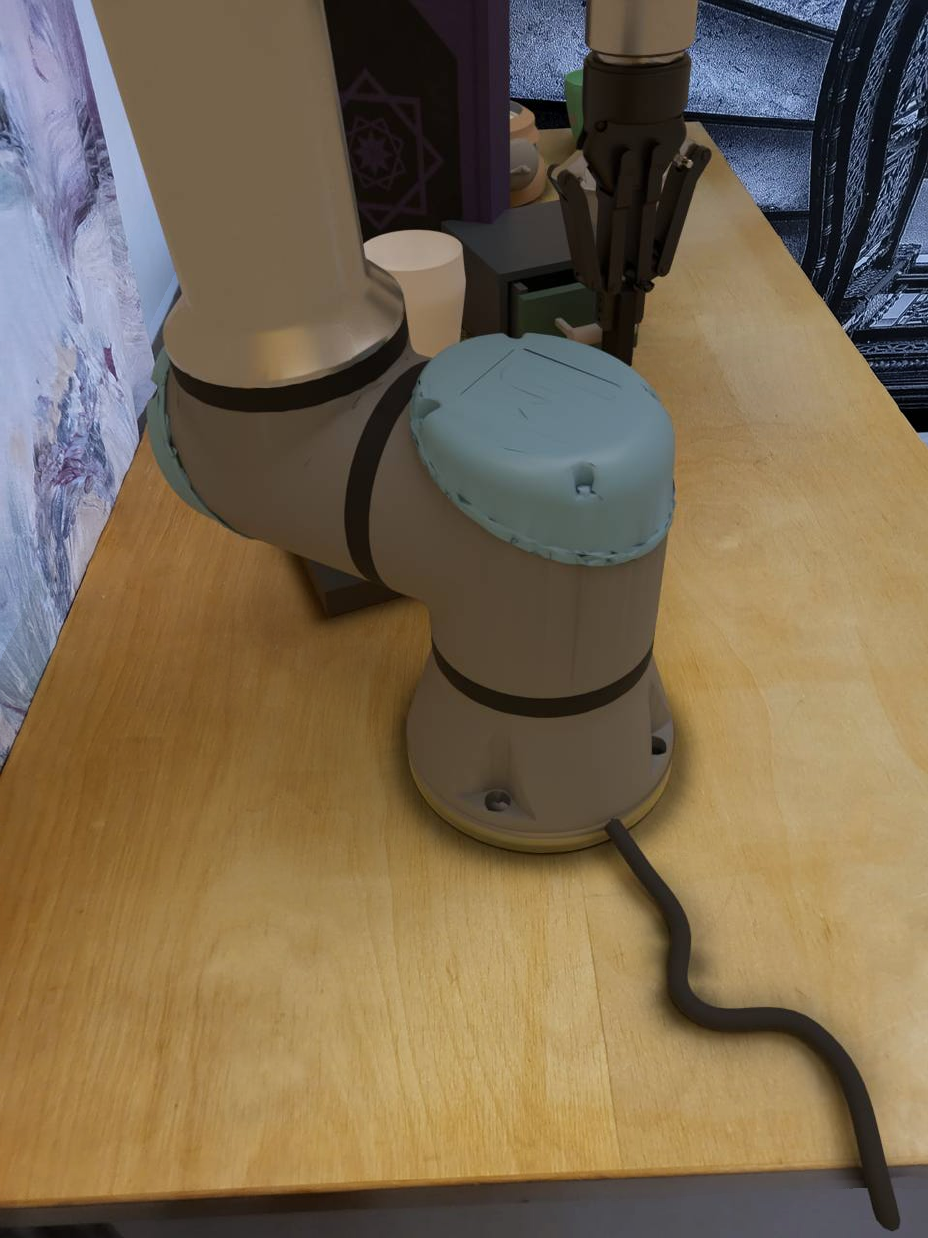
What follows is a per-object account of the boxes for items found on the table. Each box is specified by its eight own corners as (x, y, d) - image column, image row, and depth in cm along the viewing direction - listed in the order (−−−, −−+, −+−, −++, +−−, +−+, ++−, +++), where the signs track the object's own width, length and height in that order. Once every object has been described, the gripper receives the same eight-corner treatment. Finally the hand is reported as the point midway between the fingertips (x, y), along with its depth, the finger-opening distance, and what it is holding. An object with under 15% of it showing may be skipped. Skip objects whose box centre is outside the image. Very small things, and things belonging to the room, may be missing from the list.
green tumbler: (641, 168, 132) (647, 84, 125) (566, 172, 132) (569, 88, 125) (621, 134, 143) (626, 55, 136) (552, 138, 143) (554, 59, 136)
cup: (457, 408, 88) (452, 274, 80) (358, 400, 89) (342, 268, 81) (477, 359, 94) (474, 231, 86) (384, 353, 96) (372, 226, 88)
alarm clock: (549, 89, 128) (542, 147, 111) (547, 165, 134) (541, 231, 117) (416, 91, 130) (389, 148, 112) (420, 166, 136) (396, 231, 119)
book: (512, 292, 106) (511, -45, 86) (491, 317, 102) (485, -32, 82) (313, 266, 113) (270, -52, 93) (286, 289, 109) (235, -40, 89)
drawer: (661, 367, 90) (669, 293, 85) (544, 395, 87) (545, 320, 82) (574, 295, 102) (577, 226, 97) (469, 317, 99) (466, 248, 94)
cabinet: (621, 338, 96) (628, 247, 91) (499, 366, 93) (498, 273, 87) (557, 284, 106) (560, 198, 100) (444, 308, 103) (440, 221, 97)
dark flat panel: (465, 577, 70) (463, 531, 68) (328, 617, 68) (321, 571, 65) (407, 489, 79) (403, 445, 76) (283, 521, 76) (274, 476, 73)
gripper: (690, 28, 74) (660, 327, 90) (530, 51, 71) (528, 358, 87) (748, 50, 69) (706, 363, 85) (578, 76, 66) (567, 397, 81)
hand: (616, 360), depth 86 cm, fingers closed
